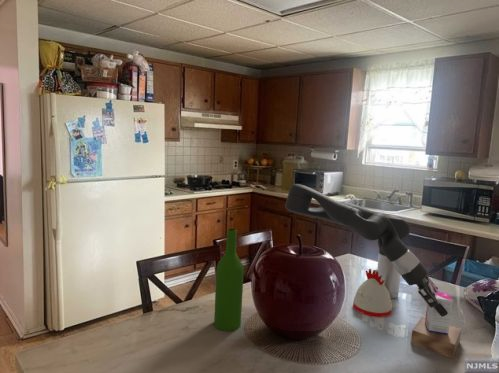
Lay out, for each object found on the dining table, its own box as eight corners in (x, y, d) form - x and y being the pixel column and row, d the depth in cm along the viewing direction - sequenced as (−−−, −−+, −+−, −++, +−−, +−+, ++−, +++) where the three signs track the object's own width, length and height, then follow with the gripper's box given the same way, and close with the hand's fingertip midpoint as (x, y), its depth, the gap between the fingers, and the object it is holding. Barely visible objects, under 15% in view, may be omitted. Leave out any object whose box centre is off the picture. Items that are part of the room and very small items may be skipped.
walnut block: (410, 344, 117) (412, 330, 117) (420, 330, 127) (421, 316, 126) (452, 360, 110) (454, 344, 109) (459, 343, 120) (461, 329, 119)
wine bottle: (245, 321, 125) (250, 228, 121) (233, 334, 117) (238, 234, 113) (222, 315, 129) (226, 224, 125) (209, 326, 121) (212, 230, 117)
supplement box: (449, 335, 114) (453, 300, 113) (428, 332, 116) (432, 297, 114) (443, 325, 120) (447, 292, 118) (424, 323, 121) (427, 290, 120)
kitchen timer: (369, 297, 150) (372, 262, 148) (398, 311, 139) (403, 273, 137) (345, 304, 143) (348, 267, 141) (375, 320, 131) (379, 280, 129)
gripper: (401, 266, 128) (434, 306, 124) (397, 280, 115) (434, 325, 111) (419, 254, 125) (454, 295, 121) (418, 267, 112) (456, 313, 108)
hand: (444, 309), depth 116 cm, fingers open, 7 cm apart
